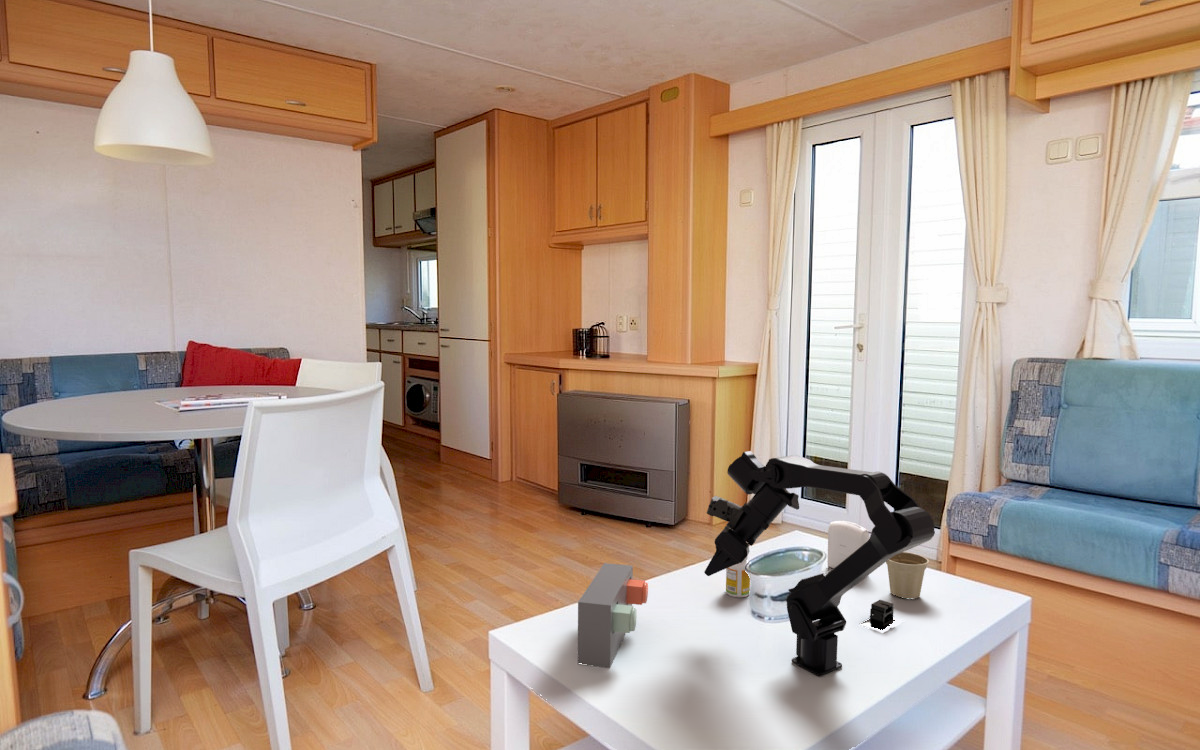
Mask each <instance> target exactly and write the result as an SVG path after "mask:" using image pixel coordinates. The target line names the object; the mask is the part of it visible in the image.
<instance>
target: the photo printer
mask: <svg viewBox="0 0 1200 750" xmlns="http://www.w3.org/2000/svg"><path fill="white" fill-rule="evenodd" d="M828 525H829V526H828V530H827V566H828V567H829V568H832V569H834V568H835V567H836V566H838V565H839V564H840V563H841V562H842V561H844V560H845V559H846V558H847V557H849V556H850V555H851V554H852V553H853V552H855V551H856V550H857V549H858V548H860V547H861V546H862V545H863V544H864V543H866V542H867V541H868V540H869V538H870V533H869V531H868V529H866V528H865V527H863V526H861V525H859V524H857V523H854V522H851V521H848V520H834V521H831V522H830V524H828Z"/></svg>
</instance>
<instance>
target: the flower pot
mask: <svg viewBox="0 0 1200 750" xmlns="http://www.w3.org/2000/svg"><path fill="white" fill-rule="evenodd" d="M885 563H886V566H887V572H888V573H887V574H888V583H889V590H890V592H891V593H892V594H893V595H896V596H895V597H899V598H900V597H903V598H916V599H917V598H920V597H921V592H922V586H923V580H924V575H925V570H926V569H927V565H928V564H929V563H930V560H929V558H927V557H925V556H923V555H920V554H918V553H914V552H907V551H904V552H902V553H899V554H897V555H894V556H893V557H891V558H890V559H889V560H888V561H886V562H885ZM891 593H890V594H891ZM892 594H891V595H892ZM893 595H892V596H893ZM919 596H920V597H919Z"/></svg>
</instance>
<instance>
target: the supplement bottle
mask: <svg viewBox="0 0 1200 750" xmlns="http://www.w3.org/2000/svg"><path fill="white" fill-rule="evenodd" d="M748 558H749V557H748V556H747V557H746V558H745V559H744V560H743V561H742V562H741V563H739V564H736V565H733V566H731V567H728V568H726V569H725V570H726V571H725V572H726V574H725V593H726V594H727V595H728V596H730V597H733V598H746V597H749V596H750V594H749V591H751V577H750V578H749V576H748V574H747V573H746V572H745V565H746V564H747V563H748V562H749V561H748Z"/></svg>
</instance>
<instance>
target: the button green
mask: <svg viewBox="0 0 1200 750" xmlns="http://www.w3.org/2000/svg"><path fill="white" fill-rule="evenodd" d="M637 616H638V615H637V608H636V607H634V605H632V606H630V605H620V604H616V605H615V607H614V609H613V631H615V632H623V633H626V634H630V633H631V632H635V630H636V628H637V627H636V626H637Z"/></svg>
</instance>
